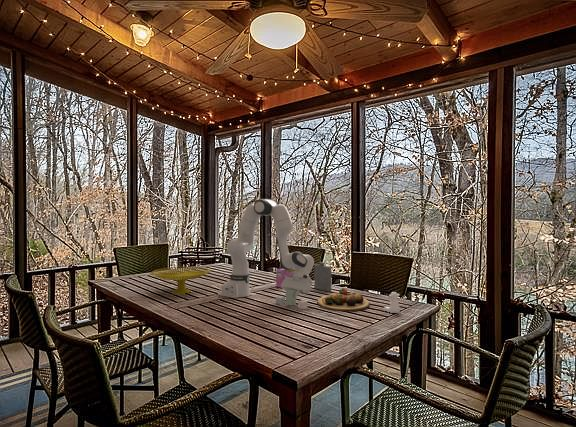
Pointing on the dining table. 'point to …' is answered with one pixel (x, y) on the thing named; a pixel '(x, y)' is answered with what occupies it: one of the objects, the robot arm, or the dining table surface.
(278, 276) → the gum box
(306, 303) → the cream block
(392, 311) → the seated beast figurine
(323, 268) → the hip flask
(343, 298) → the wooden plate with food
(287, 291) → the sage-green pillar
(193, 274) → the cake stand
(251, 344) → the dining table surface
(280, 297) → the grey block
